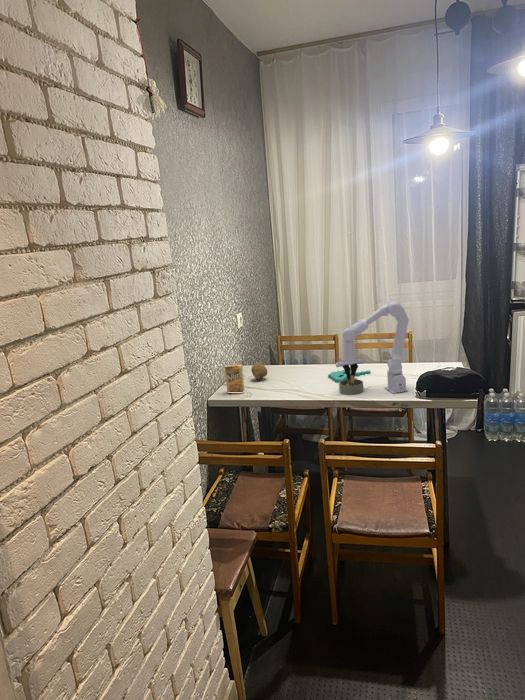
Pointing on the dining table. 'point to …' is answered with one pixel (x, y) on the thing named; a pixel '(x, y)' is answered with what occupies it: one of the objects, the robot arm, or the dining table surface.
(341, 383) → the grey round bowl
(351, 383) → the wood wick
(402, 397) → the dining table surface
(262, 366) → the natural sponge
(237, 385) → the candy box
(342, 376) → the alien figure
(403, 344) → the robot arm
